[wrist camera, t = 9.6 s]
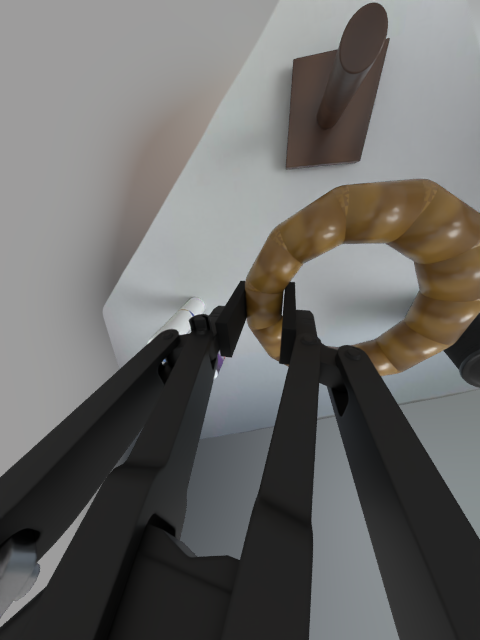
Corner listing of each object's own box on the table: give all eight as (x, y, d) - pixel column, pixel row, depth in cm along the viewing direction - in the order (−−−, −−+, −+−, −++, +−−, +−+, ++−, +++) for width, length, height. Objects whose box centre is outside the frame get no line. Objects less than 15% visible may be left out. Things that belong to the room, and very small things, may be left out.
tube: (186, 307, 44) (146, 350, 31) (190, 294, 41) (149, 334, 29) (202, 315, 44) (169, 360, 32) (207, 302, 41) (173, 345, 29)
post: (383, 47, 18) (516, -167, 8) (356, 162, 23) (413, 132, 13) (293, 67, 20) (296, -82, 10) (286, 169, 25) (282, 147, 15)
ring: (539, 169, 9) (632, 158, 7) (405, 371, 17) (424, 399, 15) (245, 194, 12) (234, 193, 10) (251, 353, 21) (246, 374, 18)
